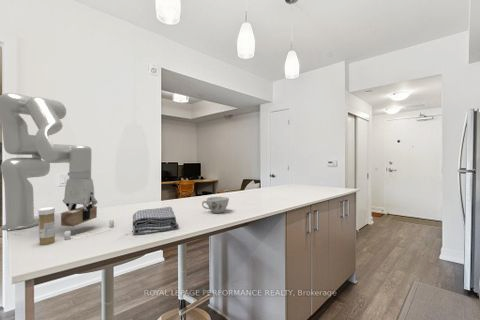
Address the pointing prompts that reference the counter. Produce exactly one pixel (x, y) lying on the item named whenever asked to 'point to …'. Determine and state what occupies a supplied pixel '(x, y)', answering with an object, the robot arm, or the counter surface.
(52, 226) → the pill bottle
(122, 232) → the counter surface
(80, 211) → the frame
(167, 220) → the towel
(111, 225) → the panel
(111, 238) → the counter surface
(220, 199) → the teacup
